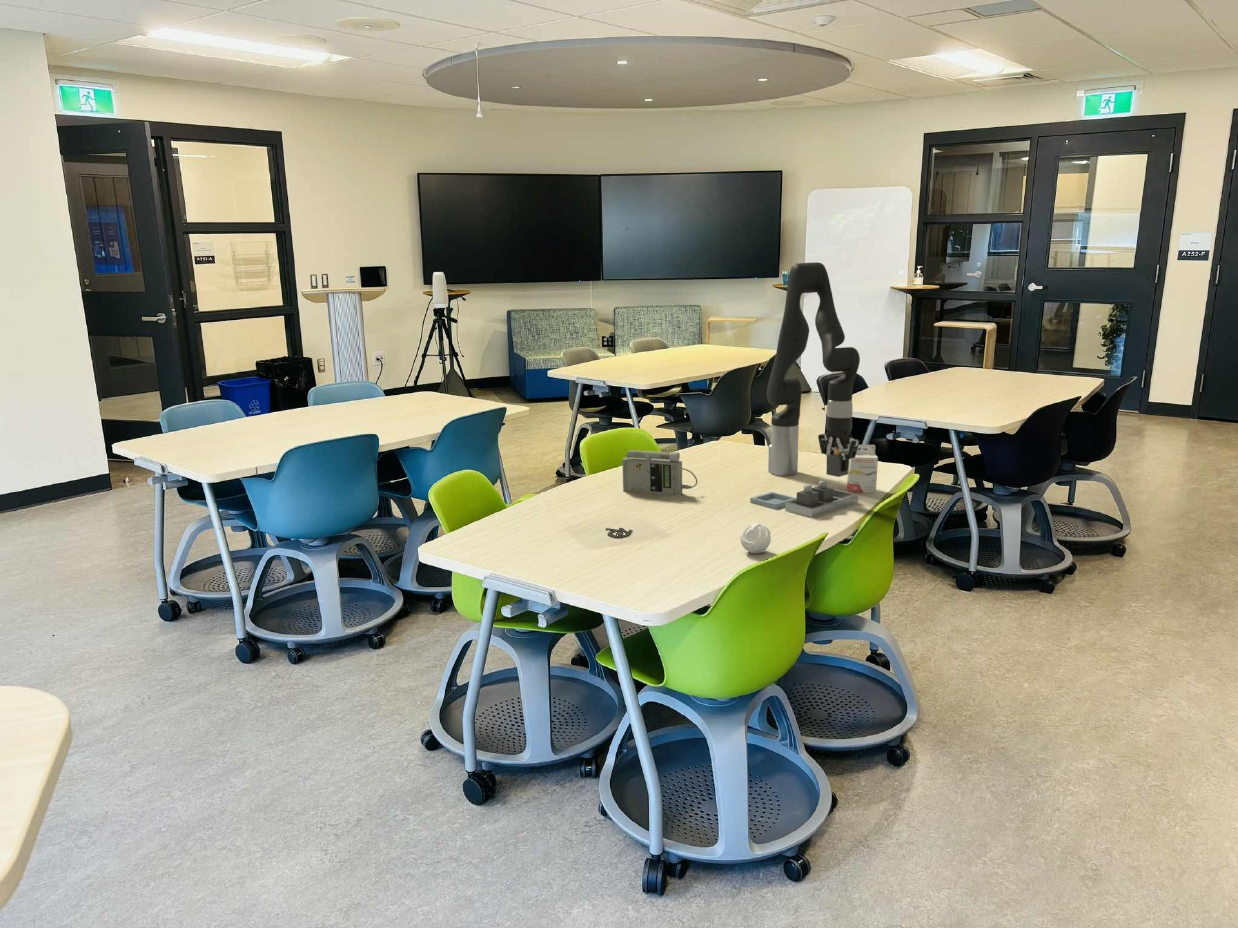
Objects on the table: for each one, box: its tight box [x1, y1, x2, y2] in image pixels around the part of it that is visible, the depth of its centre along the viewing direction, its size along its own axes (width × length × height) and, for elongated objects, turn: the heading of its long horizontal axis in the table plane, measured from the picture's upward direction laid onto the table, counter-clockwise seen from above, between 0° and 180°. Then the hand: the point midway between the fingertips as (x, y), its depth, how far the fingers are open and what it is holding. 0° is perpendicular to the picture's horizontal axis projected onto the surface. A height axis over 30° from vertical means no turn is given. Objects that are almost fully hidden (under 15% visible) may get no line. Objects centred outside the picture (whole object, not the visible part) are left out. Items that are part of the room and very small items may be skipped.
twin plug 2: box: [812, 480, 834, 503], centre depth 271 cm, size 4×4×8 cm
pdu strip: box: [784, 488, 859, 519], centre depth 272 cm, size 10×22×3 cm, turn 130°
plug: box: [825, 448, 848, 478], centre depth 274 cm, size 4×4×8 cm
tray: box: [749, 491, 797, 510], centre depth 278 cm, size 10×10×2 cm
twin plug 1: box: [796, 484, 819, 508], centre depth 267 cm, size 4×4×8 cm
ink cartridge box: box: [846, 444, 879, 494], centre depth 288 cm, size 9×5×15 cm, turn 84°
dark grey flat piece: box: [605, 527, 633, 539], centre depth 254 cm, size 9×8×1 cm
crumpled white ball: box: [739, 522, 772, 554], centre depth 235 cm, size 8×8×8 cm
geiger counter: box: [621, 449, 698, 497], centre depth 292 cm, size 14×6×25 cm
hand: (837, 469), depth 274 cm, fingers closed on plug, 4 cm apart
